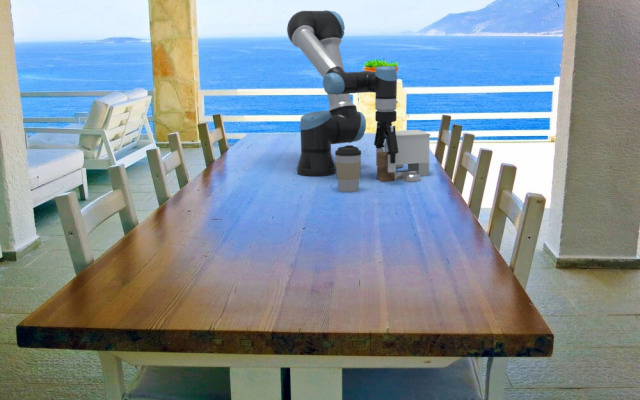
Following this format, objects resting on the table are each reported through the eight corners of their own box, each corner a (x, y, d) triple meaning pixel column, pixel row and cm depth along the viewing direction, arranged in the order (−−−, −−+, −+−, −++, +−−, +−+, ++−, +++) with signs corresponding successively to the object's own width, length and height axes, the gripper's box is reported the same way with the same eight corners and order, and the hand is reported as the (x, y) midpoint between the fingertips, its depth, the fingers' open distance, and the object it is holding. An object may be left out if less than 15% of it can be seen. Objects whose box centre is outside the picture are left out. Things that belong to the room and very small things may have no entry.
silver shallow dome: (408, 183, 247) (408, 176, 246) (400, 180, 252) (400, 173, 252) (423, 181, 249) (423, 174, 248) (414, 178, 254) (414, 172, 254)
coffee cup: (359, 193, 232) (359, 149, 228) (333, 192, 233) (332, 148, 230) (363, 187, 240) (363, 144, 237) (337, 186, 242) (337, 144, 239)
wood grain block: (381, 181, 249) (381, 154, 246) (377, 179, 253) (377, 152, 251) (419, 179, 252) (419, 152, 250) (413, 176, 257) (414, 150, 255)
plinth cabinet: (395, 177, 255) (395, 135, 252) (385, 171, 267) (385, 131, 263) (429, 175, 258) (430, 133, 255) (417, 169, 270) (418, 129, 266)
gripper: (408, 113, 235) (407, 174, 240) (384, 106, 258) (384, 162, 263) (387, 114, 233) (386, 175, 238) (365, 107, 257) (365, 163, 262)
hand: (385, 168), depth 251 cm, fingers open, 13 cm apart
